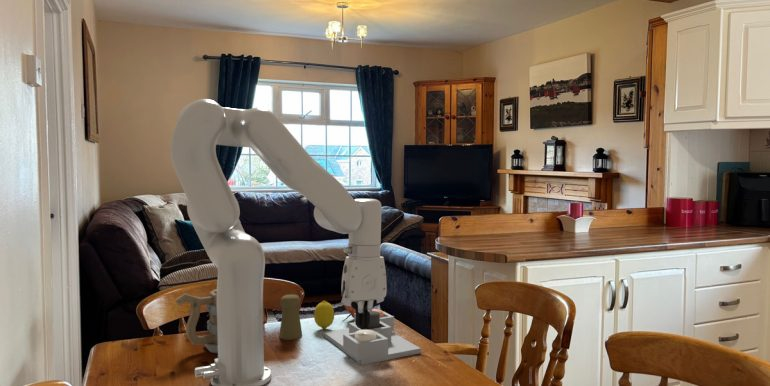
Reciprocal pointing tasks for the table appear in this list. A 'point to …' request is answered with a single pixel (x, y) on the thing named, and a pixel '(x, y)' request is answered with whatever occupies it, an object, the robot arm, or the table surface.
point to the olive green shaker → (290, 318)
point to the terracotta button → (379, 312)
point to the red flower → (350, 311)
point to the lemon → (324, 314)
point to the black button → (374, 320)
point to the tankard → (195, 302)
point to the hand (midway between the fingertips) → (362, 327)
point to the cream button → (365, 335)
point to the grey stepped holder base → (372, 342)
